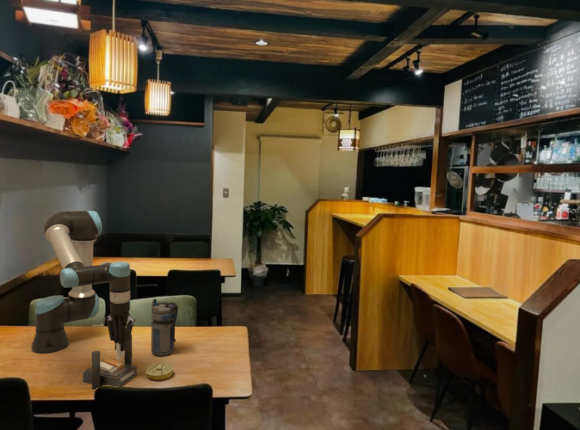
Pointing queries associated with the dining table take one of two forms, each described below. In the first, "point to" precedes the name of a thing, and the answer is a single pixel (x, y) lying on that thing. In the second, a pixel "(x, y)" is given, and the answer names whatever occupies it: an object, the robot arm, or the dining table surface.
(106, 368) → the paddle ivory
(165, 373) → the decorated donut
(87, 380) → the breaker box
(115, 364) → the paddle orange
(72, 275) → the robot arm
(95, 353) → the post near
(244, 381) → the dining table surface
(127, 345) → the post far
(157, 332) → the beverage bottle
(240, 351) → the dining table surface
